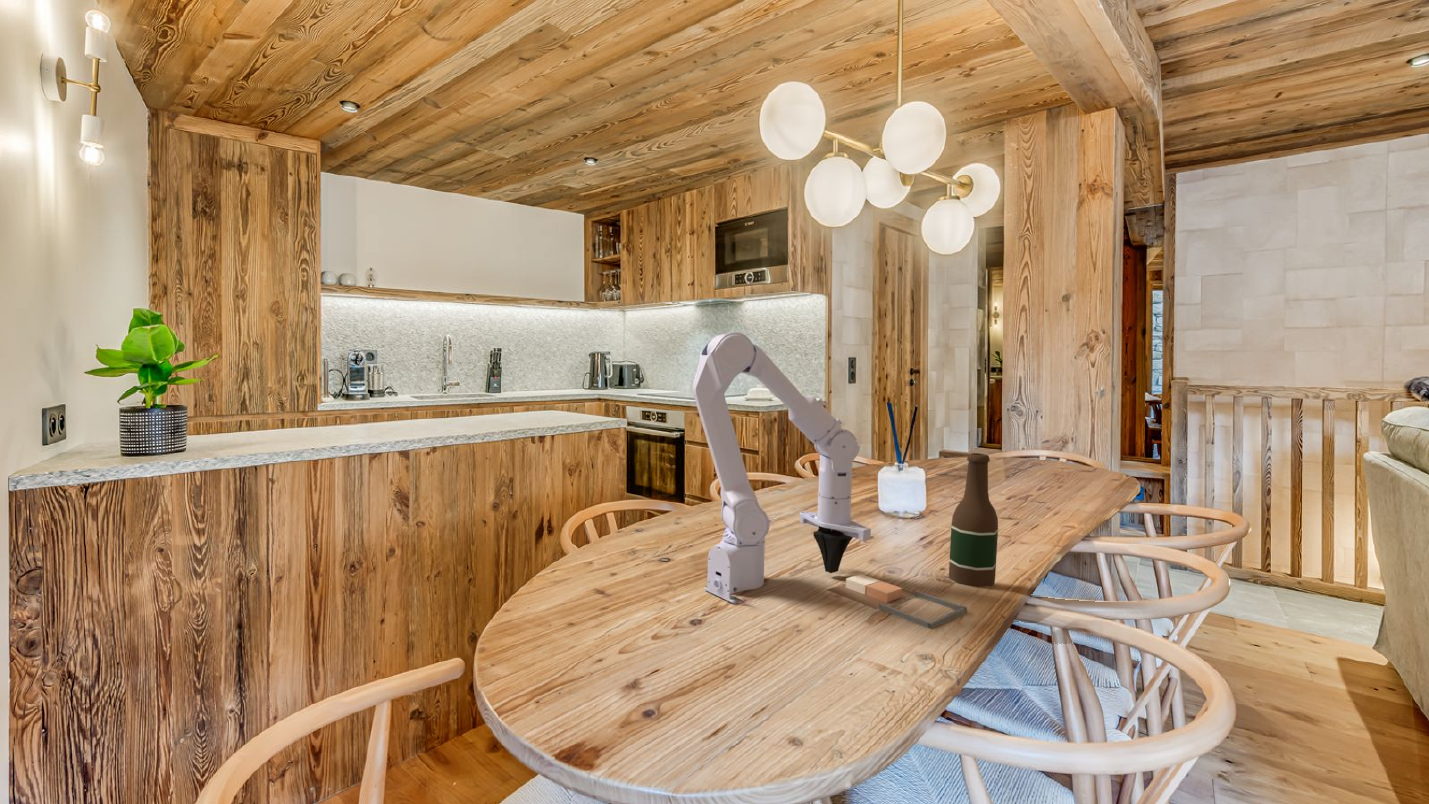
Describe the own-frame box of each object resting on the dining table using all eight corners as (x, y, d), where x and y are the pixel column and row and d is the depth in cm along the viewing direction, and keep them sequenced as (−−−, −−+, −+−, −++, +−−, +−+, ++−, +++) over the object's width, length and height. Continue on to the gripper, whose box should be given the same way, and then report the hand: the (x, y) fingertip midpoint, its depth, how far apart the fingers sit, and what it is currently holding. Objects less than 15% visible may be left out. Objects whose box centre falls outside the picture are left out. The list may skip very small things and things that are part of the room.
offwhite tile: (864, 594, 106) (865, 585, 106) (845, 587, 109) (846, 578, 109) (879, 589, 108) (880, 580, 108) (860, 582, 111) (860, 573, 111)
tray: (930, 638, 93) (930, 623, 93) (878, 617, 100) (879, 604, 100) (966, 621, 99) (967, 607, 99) (915, 603, 106) (916, 590, 106)
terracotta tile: (886, 602, 102) (887, 593, 102) (866, 595, 105) (866, 586, 105) (901, 597, 105) (902, 588, 105) (881, 589, 108) (881, 581, 108)
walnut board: (875, 618, 100) (875, 608, 100) (826, 598, 108) (826, 589, 108) (916, 602, 107) (916, 593, 107) (867, 584, 115) (867, 576, 114)
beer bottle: (999, 598, 110) (1007, 459, 108) (951, 593, 111) (959, 456, 109) (989, 582, 117) (997, 452, 115) (944, 578, 119) (951, 449, 117)
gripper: (883, 500, 110) (879, 578, 111) (818, 485, 121) (815, 556, 122) (856, 506, 105) (853, 586, 106) (792, 490, 116) (790, 563, 117)
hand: (831, 571), depth 114 cm, fingers closed
